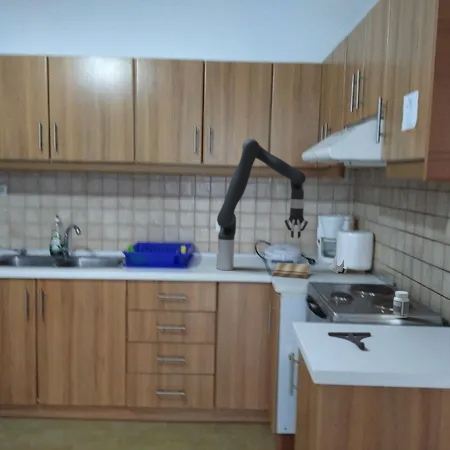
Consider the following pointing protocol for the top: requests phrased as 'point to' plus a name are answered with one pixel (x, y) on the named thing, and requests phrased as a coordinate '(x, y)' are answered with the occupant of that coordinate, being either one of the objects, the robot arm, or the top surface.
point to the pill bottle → (401, 303)
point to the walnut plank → (290, 274)
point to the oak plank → (292, 267)
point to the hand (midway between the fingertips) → (295, 237)
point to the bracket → (352, 337)
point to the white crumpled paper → (337, 268)
